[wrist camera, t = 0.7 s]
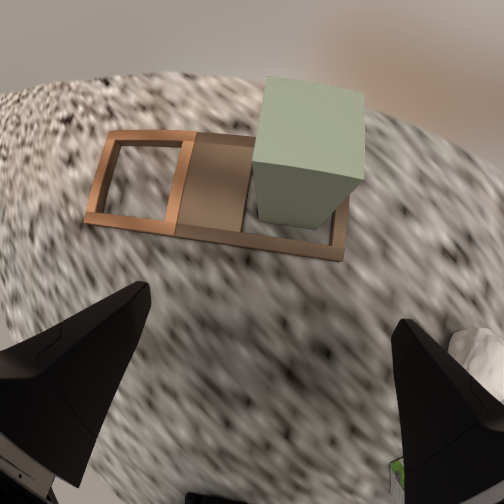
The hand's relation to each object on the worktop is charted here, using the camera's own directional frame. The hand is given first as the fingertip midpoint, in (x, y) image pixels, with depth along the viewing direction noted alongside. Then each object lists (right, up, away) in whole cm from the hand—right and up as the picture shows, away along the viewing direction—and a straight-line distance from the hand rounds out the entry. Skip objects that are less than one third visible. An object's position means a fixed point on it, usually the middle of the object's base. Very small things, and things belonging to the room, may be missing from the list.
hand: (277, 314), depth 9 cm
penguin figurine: (+20, -9, +11) cm, 25 cm away
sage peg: (+2, +6, +13) cm, 15 cm away
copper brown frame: (-4, +7, +14) cm, 16 cm away
